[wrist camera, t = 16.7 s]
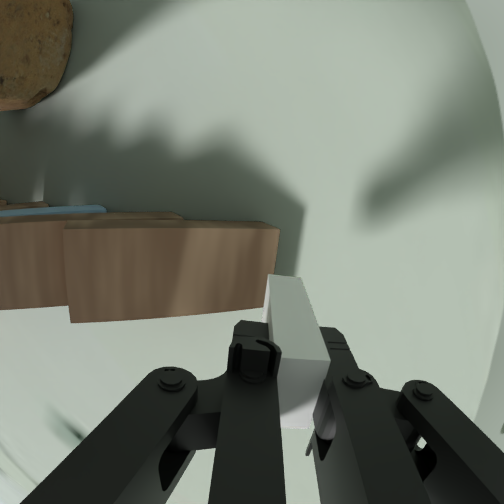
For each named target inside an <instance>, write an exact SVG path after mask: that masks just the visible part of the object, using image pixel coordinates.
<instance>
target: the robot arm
mask: <svg viewBox="0 0 504 504" xmlns="http://www.w3.org/2000/svg"><path fill="white" fill-rule="evenodd" d="M312 418H313V420H314V425H315V429H314V431H313V434H312V437H311V439H310V442H309V444H308V447H307V449H306V455H305V456H309V454H310V452H311V449H313V456H314V462H315V469H316V475H317V482H318V488H319V495H320V502H321V504H504V453H503V452H502V451H501V450H500V449H499V448H498V447H497V446H496V445H495V444H494V443H493V442H492V441H491V440H490V439H489V438H488V437H487V436H486V435H485V434H484V433H483V432H482V431H481V430H480V429H479V428H478V427H477V426H476V425H475V424H474V423H473V422H472V421H471V420H470V419H469V418H468V417H467V416H466V415H465V414H464V413H463V412H462V411H461V410H460V409H459V408H458V407H457V406H456V405H455V404H454V403H453V402H452V401H451V400H450V399H448V398H447V397H446V396H445V395H444V394H443V393H442V392H441V391H440V390H439V389H438V388H437V387H435V386H434V385H433V384H431V383H428V382H426V381H422V380H411V381H409V382H407V383H405V385H404V386H403V388H402V390H401V392H399V391H393V390H388V389H383V388H380V387H379V385H378V383H377V381H376V380H375V379H374V377H373V376H372V375H371V374H369V373H368V372H366V371H363V370H361V369H359V368H358V366H357V363H356V361H355V359H354V357H353V355H352V353H351V351H350V348H349V346H348V344H347V342H346V340H345V338H344V335H343V334H342V333H340V332H339V331H338V330H337V329H336V328H331V327H319V326H318V323H317V320H316V317H315V315H314V312H313V309H312V306H311V304H310V301H309V298H308V295H307V293H306V290H305V287H304V284H303V282H302V279H301V278H300V277H291V276H282V275H273V274H268V279H267V286H266V293H265V300H264V307H263V314H262V320H261V322H254V321H245V320H241V321H240V322H238V323H237V324H236V325H235V326H234V332H233V339H232V343H231V345H230V347H229V354H228V364H227V371H226V372H225V373H224V374H222V375H221V376H219V377H217V378H214V379H209V380H200V381H197V379H196V377H195V376H194V375H193V374H192V373H191V372H189V371H187V370H185V369H183V368H177V367H162V368H158V369H155V370H153V371H152V372H150V373H149V374H148V375H147V376H146V377H145V378H144V379H143V380H142V381H141V382H140V383H139V384H138V385H137V386H136V387H135V388H134V389H133V390H132V391H131V392H130V393H129V394H128V395H127V396H126V397H125V398H124V399H123V400H122V401H121V402H120V403H119V404H118V406H117V407H116V408H115V409H114V410H113V411H112V412H111V413H110V414H109V415H108V416H107V417H106V418H105V419H104V420H103V421H102V422H101V423H100V424H99V425H98V426H97V427H96V428H95V429H94V430H93V431H92V432H91V433H90V434H89V435H88V436H87V437H86V438H85V439H84V440H83V441H82V442H81V443H80V444H79V445H78V446H77V447H76V448H75V449H74V450H73V451H72V452H71V453H70V454H69V455H68V456H67V457H66V458H65V459H64V460H63V461H62V462H61V463H60V464H59V465H58V466H57V467H56V468H55V469H54V470H53V471H52V472H51V473H50V474H49V475H48V476H47V477H46V478H45V479H44V480H43V481H42V482H41V483H40V484H39V485H38V486H37V487H36V488H35V489H34V490H33V491H32V492H31V493H30V494H29V495H28V496H27V497H26V498H25V499H24V500H23V501H22V502H21V503H20V504H165V503H166V501H167V500H168V498H169V496H170V495H171V493H172V492H173V490H174V488H175V487H176V485H177V483H178V482H179V480H180V478H181V477H182V475H183V473H184V471H185V470H186V468H187V466H188V465H189V463H190V461H191V459H192V458H193V456H194V454H195V452H196V450H202V449H211V448H216V450H215V457H214V464H213V471H212V479H211V486H210V493H209V500H208V504H286V494H285V479H284V464H283V450H282V437H281V428H293V429H309V427H310V424H311V421H312ZM421 437H423V439H424V440H425V441H426V442H427V444H426V445H425V447H424V448H423V449H422V448H420V447H418V445H417V443H418V442H419V440H420V438H421Z"/></svg>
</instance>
